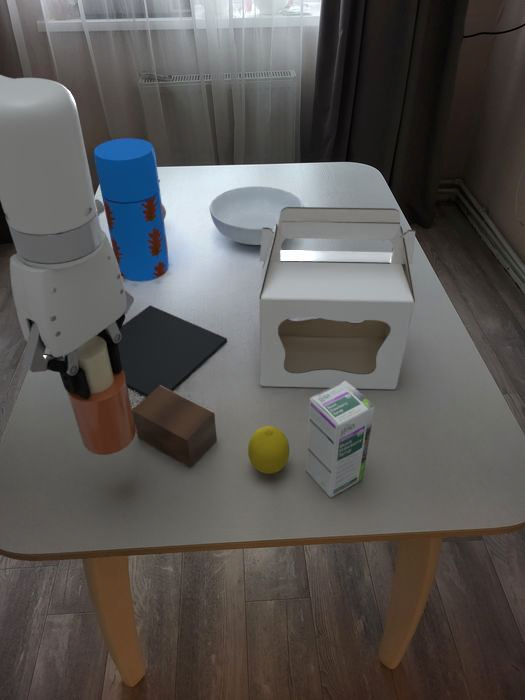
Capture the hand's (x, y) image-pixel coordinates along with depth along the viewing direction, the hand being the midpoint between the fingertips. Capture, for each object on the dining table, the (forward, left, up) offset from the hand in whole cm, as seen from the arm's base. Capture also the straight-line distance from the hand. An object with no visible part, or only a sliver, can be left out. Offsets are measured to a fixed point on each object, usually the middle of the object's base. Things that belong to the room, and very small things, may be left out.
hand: (94, 378), depth 62 cm
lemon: (+14, +13, -21) cm, 29 cm away
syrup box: (+22, +17, -21) cm, 35 cm away
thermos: (-36, +42, -21) cm, 59 cm away
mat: (-16, +23, -20) cm, 35 cm away
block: (0, +10, -20) cm, 23 cm away
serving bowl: (-24, +67, -21) cm, 74 cm away
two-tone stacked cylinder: (0, +3, -9) cm, 10 cm away
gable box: (+10, +37, -21) cm, 44 cm away
